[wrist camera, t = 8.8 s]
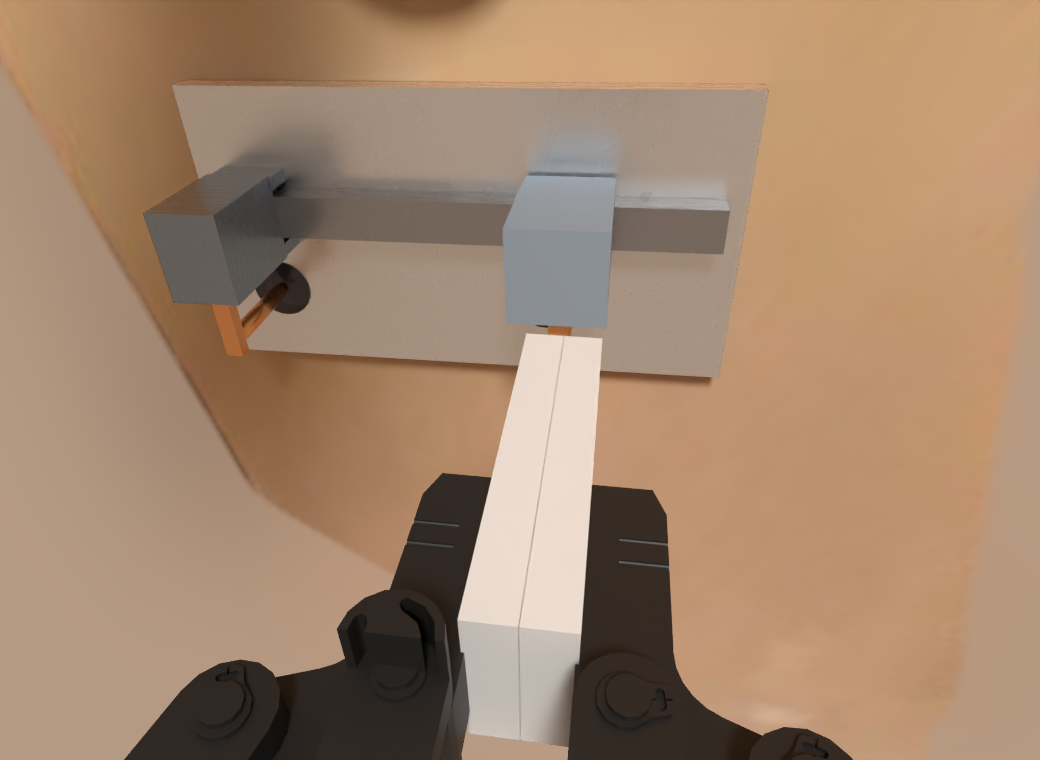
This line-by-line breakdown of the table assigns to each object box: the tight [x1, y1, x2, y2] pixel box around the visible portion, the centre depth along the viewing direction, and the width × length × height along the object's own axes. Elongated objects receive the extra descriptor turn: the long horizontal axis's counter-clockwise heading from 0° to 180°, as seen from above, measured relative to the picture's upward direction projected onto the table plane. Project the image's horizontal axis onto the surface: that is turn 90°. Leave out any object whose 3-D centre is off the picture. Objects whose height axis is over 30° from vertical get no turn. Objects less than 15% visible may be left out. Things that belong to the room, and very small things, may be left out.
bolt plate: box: [143, 80, 769, 378], centre depth 31 cm, size 14×26×8 cm, turn 91°
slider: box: [503, 176, 616, 336], centre depth 30 cm, size 7×4×6 cm, turn 1°
